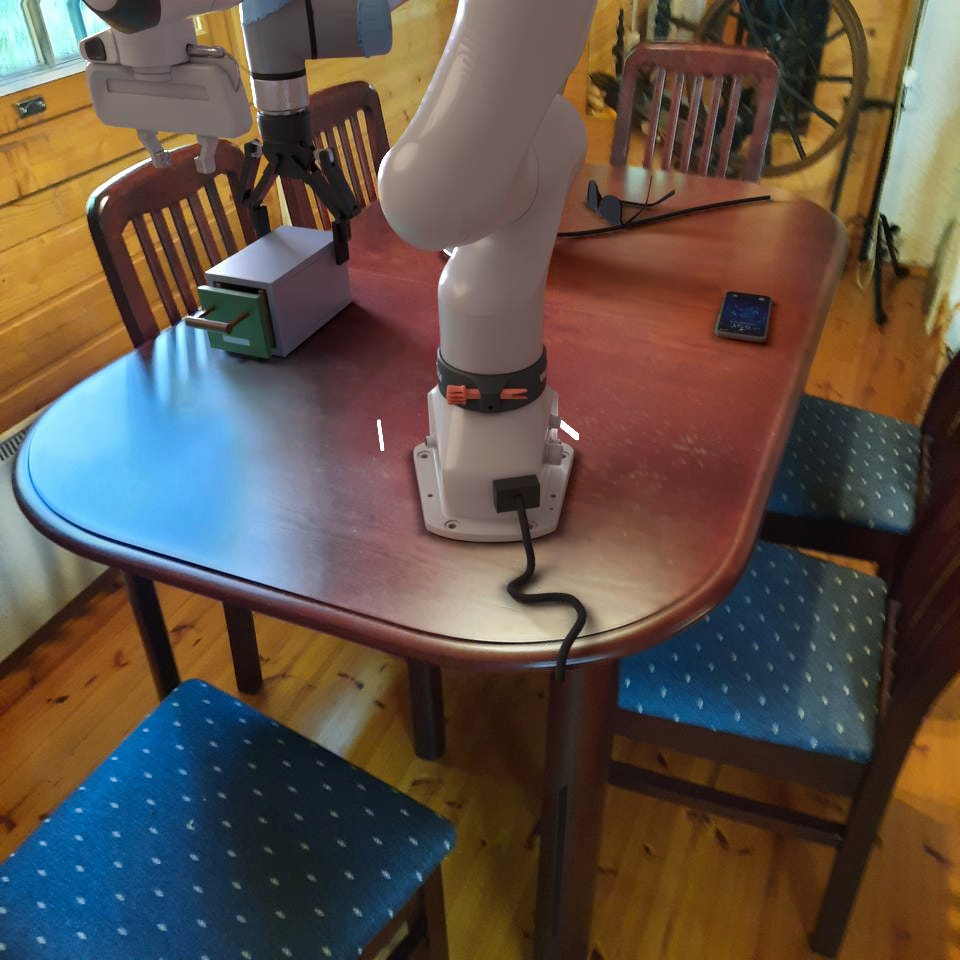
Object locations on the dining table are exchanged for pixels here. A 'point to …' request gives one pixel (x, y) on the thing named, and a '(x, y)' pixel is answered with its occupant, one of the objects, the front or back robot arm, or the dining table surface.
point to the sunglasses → (615, 204)
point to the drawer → (235, 319)
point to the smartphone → (744, 316)
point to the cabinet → (291, 281)
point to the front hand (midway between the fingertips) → (184, 169)
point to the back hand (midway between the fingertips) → (304, 256)
